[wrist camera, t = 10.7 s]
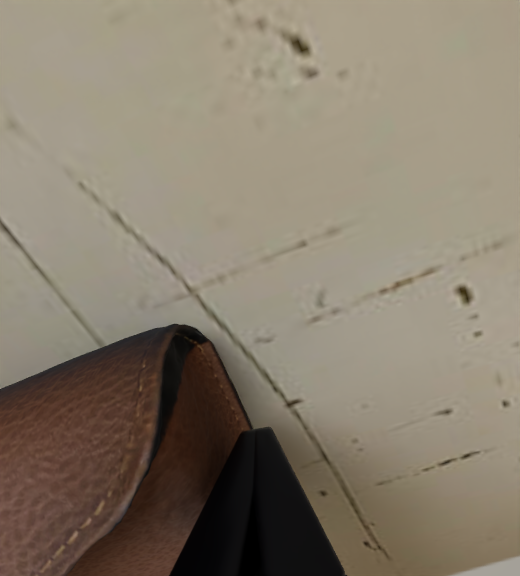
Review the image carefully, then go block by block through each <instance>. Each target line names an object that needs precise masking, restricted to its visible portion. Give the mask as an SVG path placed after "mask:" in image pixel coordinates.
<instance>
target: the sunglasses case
mask: <svg viewBox="0 0 520 576" xmlns="http://www.w3.org/2000/svg"><path fill="white" fill-rule="evenodd" d="M247 430H253V428H252V426H251V423H250V421H249V419H248V417H247V415H246V413H245V411H244V408H243V406H242V404H241V402H240V399H239V397H238V395H237V392H236V390H235V388H234V386H233V384H232V382H231V380H230V379H229V377H228V375H227V372H226V370H225V368H224V366H223V364H222V362H221V360H220V358H219V356H218V354H217V352H216V350H215V347H214V345H213V343H212V342H211V341H210V340H209V339H207V338H206V337H205V336H204V335H203V334H202V333H201V332H200V331H198V330H197V329H196V328H194V327H191V326H188V325H178V324H172V325H169V326H166V327H162V328H155V329H152V330H149V331H146V332H143V333H140V334H137V335H134V336H131V337H128V338H125V339H123V340H120V341H118V342H115V343H113V344H110V345H108V346H105V347H103V348H100V349H98V350H95V351H92V352H89V353H86V354H84V355H81V356H79V357H76V358H74V359H71V360H69V361H66V362H64V363H61V364H59V365H57V366H54V367H52V368H50V369H48V370H45V371H43V372H41V373H38V374H36V375H34V376H31V377H28V378H26V379H24V380H22V381H19V382H17V383H15V384H12V385H9V386H7V387H4V388H2V389H0V576H169V574H170V572H171V571H172V569H173V567H174V565H175V563H176V561H177V559H178V557H179V555H180V553H181V551H182V549H183V547H184V545H185V543H186V541H187V539H188V537H189V535H190V533H191V531H192V529H193V527H194V525H195V523H196V521H197V519H198V517H199V515H200V513H201V511H202V509H203V507H204V505H205V503H206V501H207V499H208V497H209V495H210V493H211V491H212V489H213V487H214V485H215V483H216V481H217V479H218V477H219V475H220V473H221V471H222V469H223V467H224V465H225V463H226V461H227V459H228V457H229V455H230V453H231V451H232V449H233V447H234V445H235V443H236V441H237V439H238V437H239V435H240V433H241V432H243V431H247Z"/></svg>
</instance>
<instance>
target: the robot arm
mask: <svg viewBox="0 0 520 576" xmlns="http://www.w3.org/2000/svg"><path fill="white" fill-rule="evenodd" d="M169 576H347V575H345V571H344V569H343V567H342V565H341V563H340V561H339V559H338V557H337V555H336V553H335V551H334V549H333V547H332V545H331V543H330V541H329V539H328V537H327V535H326V534H325V532H324V530H323V528H322V526H321V524H320V522H319V520H318V518H317V516H316V514H315V512H314V510H313V508H312V506H311V504H310V502H309V500H308V498H307V496H306V494H305V492H304V490H303V489H302V487H301V485H300V483H299V481H298V479H297V477H296V475H295V473H294V471H293V469H292V467H291V465H290V463H289V461H288V459H287V457H286V455H285V453H284V451H283V449H282V447H281V445H280V444H279V442H278V440H277V438H276V436H275V434H274V432H273V430H272V428H271V427H265V428H259V429H253V430H247V431H243V432H241V433H240V435H239V437H238V439H237V441H236V443H235V445H234V447H233V449H232V451H231V453H230V455H229V457H228V459H227V461H226V463H225V465H224V467H223V469H222V471H221V473H220V475H219V477H218V479H217V481H216V483H215V485H214V487H213V489H212V491H211V493H210V495H209V497H208V499H207V501H206V503H205V505H204V507H203V509H202V511H201V513H200V515H199V517H198V519H197V521H196V523H195V525H194V527H193V529H192V531H191V533H190V535H189V537H188V539H187V541H186V543H185V545H184V547H183V549H182V551H181V553H180V555H179V557H178V559H177V561H176V563H175V565H174V567H173V569H172V571H171V572H170V574H169Z"/></svg>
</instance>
